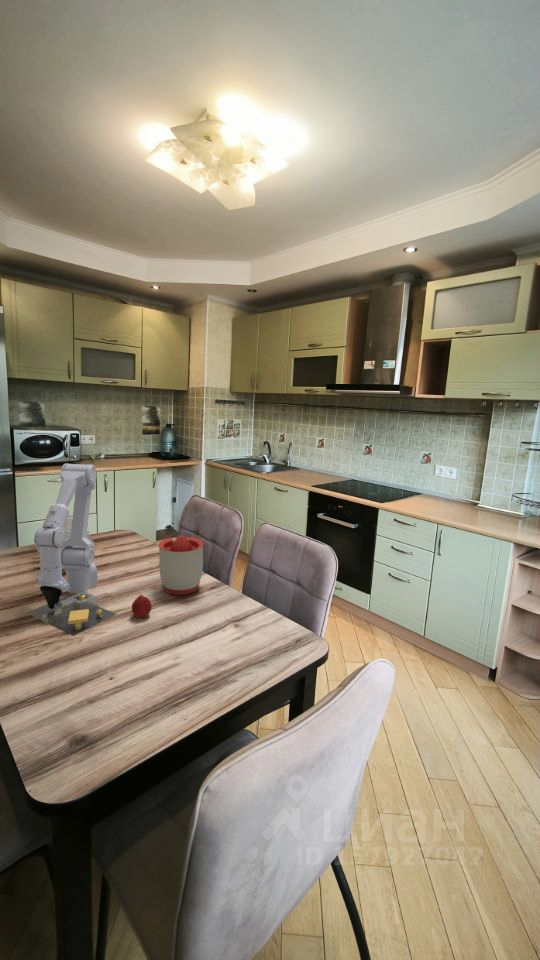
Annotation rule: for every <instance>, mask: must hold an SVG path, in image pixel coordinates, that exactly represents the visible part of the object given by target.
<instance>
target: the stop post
mask: <svg viewBox="0 0 540 960" xmlns="http://www.w3.org/2000/svg"><path fill="white" fill-rule="evenodd" d="M96 617H97V618H101V617H102V609H97V610H96Z"/></svg>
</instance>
